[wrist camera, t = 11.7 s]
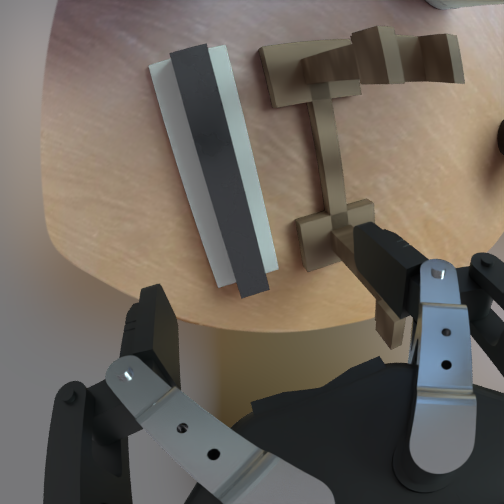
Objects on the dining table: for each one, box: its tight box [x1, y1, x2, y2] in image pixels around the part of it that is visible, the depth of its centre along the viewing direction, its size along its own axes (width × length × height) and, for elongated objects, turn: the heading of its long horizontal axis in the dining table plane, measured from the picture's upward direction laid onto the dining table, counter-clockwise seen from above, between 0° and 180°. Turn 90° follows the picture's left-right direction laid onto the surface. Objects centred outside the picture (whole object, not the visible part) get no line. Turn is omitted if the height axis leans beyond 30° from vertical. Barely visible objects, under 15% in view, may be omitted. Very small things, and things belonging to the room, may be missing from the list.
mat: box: [149, 45, 279, 288], centre depth 28 cm, size 24×7×1 cm, turn 13°
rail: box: [170, 44, 270, 298], centre depth 27 cm, size 24×3×3 cm, turn 13°
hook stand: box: [259, 26, 465, 350], centre depth 23 cm, size 24×9×16 cm, turn 13°
